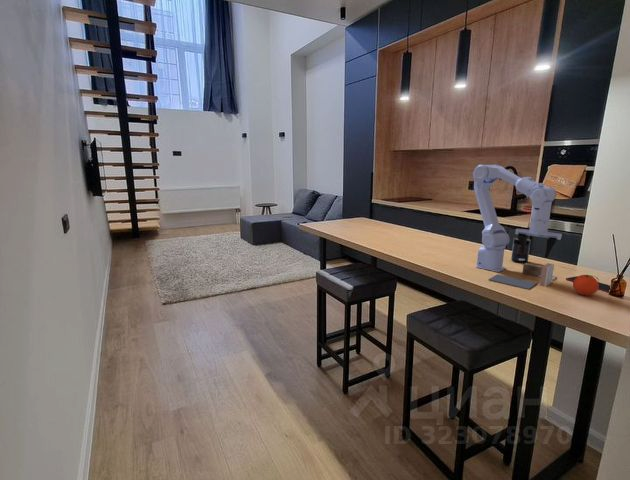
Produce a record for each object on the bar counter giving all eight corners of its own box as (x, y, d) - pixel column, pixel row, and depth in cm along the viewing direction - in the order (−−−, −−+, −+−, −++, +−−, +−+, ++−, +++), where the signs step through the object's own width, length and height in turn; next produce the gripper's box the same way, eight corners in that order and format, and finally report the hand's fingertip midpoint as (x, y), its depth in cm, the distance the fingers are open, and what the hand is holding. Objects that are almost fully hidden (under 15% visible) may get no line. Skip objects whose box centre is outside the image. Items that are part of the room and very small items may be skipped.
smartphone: (608, 291, 122) (564, 278, 135) (608, 294, 122) (564, 280, 135) (621, 288, 124) (577, 275, 138) (621, 291, 124) (577, 278, 138)
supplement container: (524, 259, 163) (527, 237, 160) (530, 263, 156) (533, 241, 154) (508, 259, 164) (511, 237, 161) (514, 263, 157) (517, 240, 155)
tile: (539, 285, 130) (542, 266, 128) (545, 280, 134) (547, 263, 133) (545, 286, 128) (548, 268, 127) (551, 282, 133) (554, 264, 131)
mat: (488, 280, 135) (488, 279, 135) (497, 275, 141) (497, 274, 141) (528, 289, 125) (529, 288, 125) (536, 283, 131) (537, 282, 130)
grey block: (521, 274, 142) (522, 264, 141) (525, 271, 145) (526, 262, 144) (553, 280, 134) (554, 270, 133) (556, 278, 137) (557, 268, 136)
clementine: (588, 290, 124) (592, 271, 122) (605, 298, 117) (609, 277, 115) (566, 291, 123) (569, 271, 122) (581, 298, 117) (585, 278, 115)
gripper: (514, 218, 132) (510, 253, 135) (561, 223, 122) (555, 261, 125) (520, 216, 137) (515, 250, 140) (565, 221, 127) (559, 257, 130)
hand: (534, 255), depth 133 cm, fingers open, 7 cm apart
